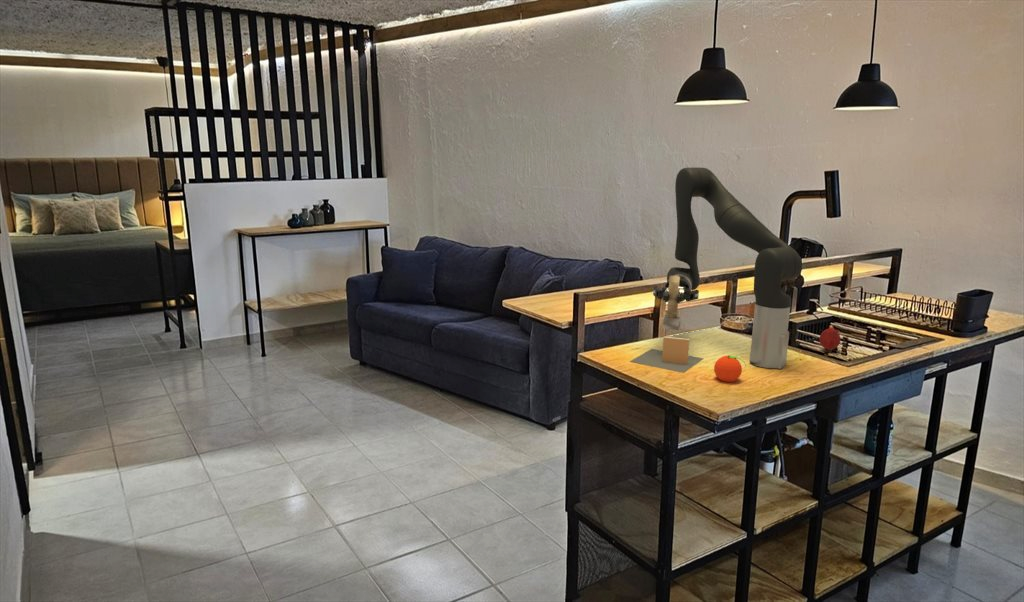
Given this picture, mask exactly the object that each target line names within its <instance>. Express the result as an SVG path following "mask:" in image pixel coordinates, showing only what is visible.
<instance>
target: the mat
mask: <svg viewBox="0 0 1024 602" xmlns="http://www.w3.org/2000/svg"><path fill="white" fill-rule="evenodd" d="M662 352H663V349H662V350H661V349H660V350H659V349H656V348H650V349H649V350H647V351H645V352H644V353H641V354H640V355H639V356H636V357H635V358H633V359H632V360H630V361H629V362H630V363H633V364H637V365H643V366H647V367H653V368H658V369H663V370H667V371H672V372H677V373H683V374H685V373H686V372H687V371H689V370H690V369H692V368H693V367H694V366H696V365H697V364H699V363H700V362H701V361H703V360H704V359H705V358H703V357H699V356H698V357H697V356H694V355H688V363H687V364H681V363H672V362H664V361H662Z"/></svg>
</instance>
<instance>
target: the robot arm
mask: <svg viewBox="0 0 1024 602" xmlns="http://www.w3.org/2000/svg"><path fill="white" fill-rule="evenodd" d="M674 185H675V189H674V190H675V207H676V209H675V211H676V238H675V250H674V258H675V259H676V261H680V262H682V263H685V264H687V266H688V267H689V268H687V267H678V266H677V267H676V266H674V267H671V268H670V269H669V270H668V272H667V274H666V284H665V286H664V287H662V288H661V287H658V286H654V287H653V291H652V292H653V294H652V295H653V296H654V297H656V298H657V299H659V300H662V301H664V303H668V297H669V279H670V276H679V277H680V281H679V294H678V296H677V303H678V304H680V303H682V302H684V301H685V302H686V303H687V302H692V301H694V300H699V292H700V290H699V289H698V287H699V285H700V283H701V277H700V272H699V266H698V265H699V264H698V248H699V238H700V237H699V231H698V226H697V225H696V222H695V219H694V216H693V212H692V200H693V198H702V199H704V200H706V202H707V203H709V204H710V205H711V206H712V208H713V216H714V221H715V223H716V224H717V226H718V227H719V228H720V229H721V230H722V231H723V232H724V233H725V235H727V236H728V237H729V238H730V239H731V240H733V241H735V242H737V243H738V244H740V245H743V246H744V247H747V248H748V249H751V250H753V251H755V252H757V253H758V254H757V256H756V258H755V263H754V271H753V272H754V273H753V275H754V276H753V294H754V299H755V302H754V313H753V321H752V334H751V341H750V342H751V343H750V354H749V363H750V364H752V365H753V366H757V367H760V368H765V369H766V368H767V369H778V370H779V369H780V370H781V369H782V368H783V367H784V366H785V365H786V364H787V357H788V349H789V348H788V347H789V337H790V331H789V330H788V329H789V323H790V322H789V321H790V312H791V305H792V297H791V295H789V294H787V293H784V292H783V291H782V282H783V281H790V280H794V279H796V278H798V276H800V275H801V273H802V270H803V262H802V259H801V256H800V254H799V253H798V252H797V251H796V249H794V248H793V247H792V246H790V245H789V244H788V243H786V242H785V241H783V240H782V239H781V238H780V237H778V236H777V235H775V234H774V233H773V232H772V231H771V230H770V229H768V228H767V226H766V225H765V224H763V223H762V222H761V221H760V220H759V219H758V218H757V217H756V216H755V215H754V214H753V212H751V211H750V210H749V209H748V208H747V207H746V206H745V205H744V204H742V203H741V202H740V201H739V200H738V199H737V198H736V197H735V196H734V195H733V194H732V193H731V192H730V191H729V190H728V189H727V188H726V187H725V186H724V185H723V184H722V182H721V181H720V179H719V178H718V177H717V176H716V175H715V173H713V171H712V170H710V169H709V168H708V167H707V168H706V167H684V168H682V169H680V170H679V171H678V173H677V174H676V178H675V184H674Z"/></svg>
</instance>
